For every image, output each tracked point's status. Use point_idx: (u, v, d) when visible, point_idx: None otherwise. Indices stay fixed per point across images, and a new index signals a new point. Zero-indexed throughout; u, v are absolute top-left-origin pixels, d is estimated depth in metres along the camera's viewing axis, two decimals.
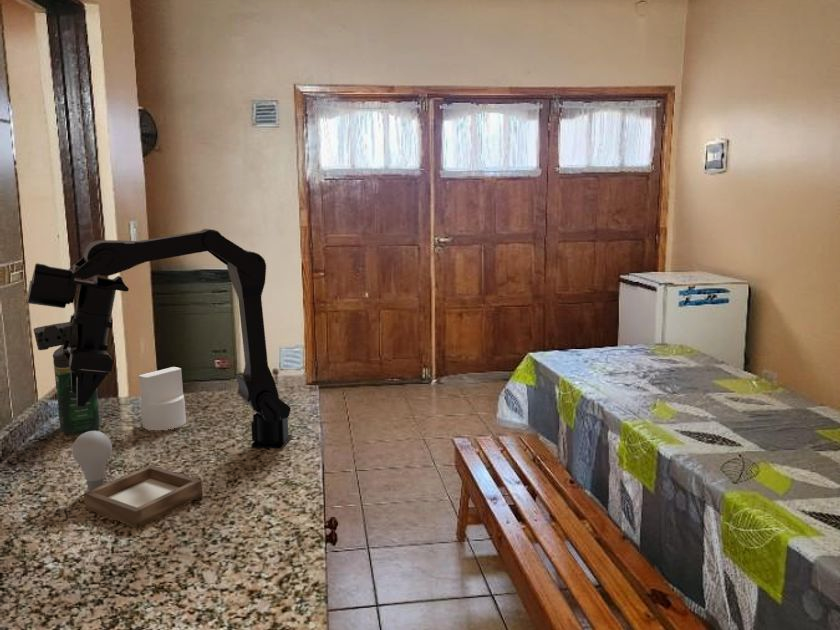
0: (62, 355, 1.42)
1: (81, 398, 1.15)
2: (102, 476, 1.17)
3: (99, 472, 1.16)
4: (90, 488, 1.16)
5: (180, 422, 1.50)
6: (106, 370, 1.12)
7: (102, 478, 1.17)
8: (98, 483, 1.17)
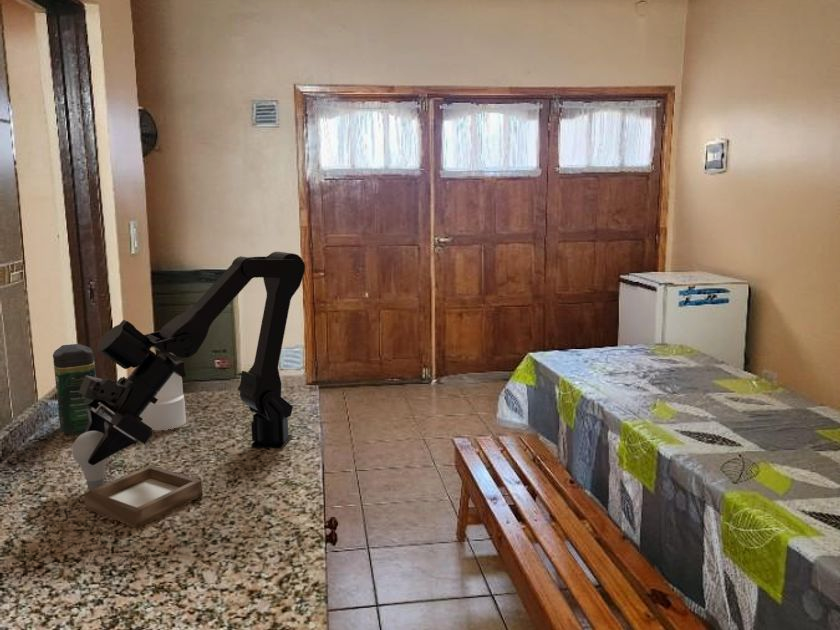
0: (62, 355, 1.42)
1: (96, 456, 1.13)
2: (102, 476, 1.17)
3: (99, 472, 1.16)
4: (90, 488, 1.16)
5: (180, 422, 1.50)
6: (143, 442, 1.13)
7: (101, 478, 1.17)
8: (98, 483, 1.17)
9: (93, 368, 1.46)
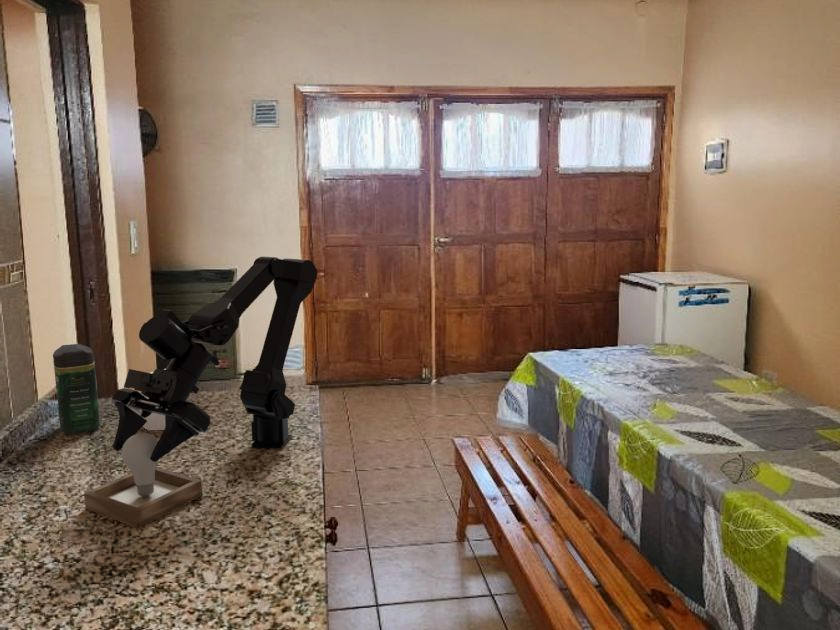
0: (62, 355, 1.42)
1: (159, 452, 1.09)
2: (153, 478, 1.13)
3: (152, 474, 1.12)
4: (142, 493, 1.12)
5: None
6: (204, 430, 1.12)
7: (152, 481, 1.13)
8: (150, 487, 1.13)
9: (93, 368, 1.46)
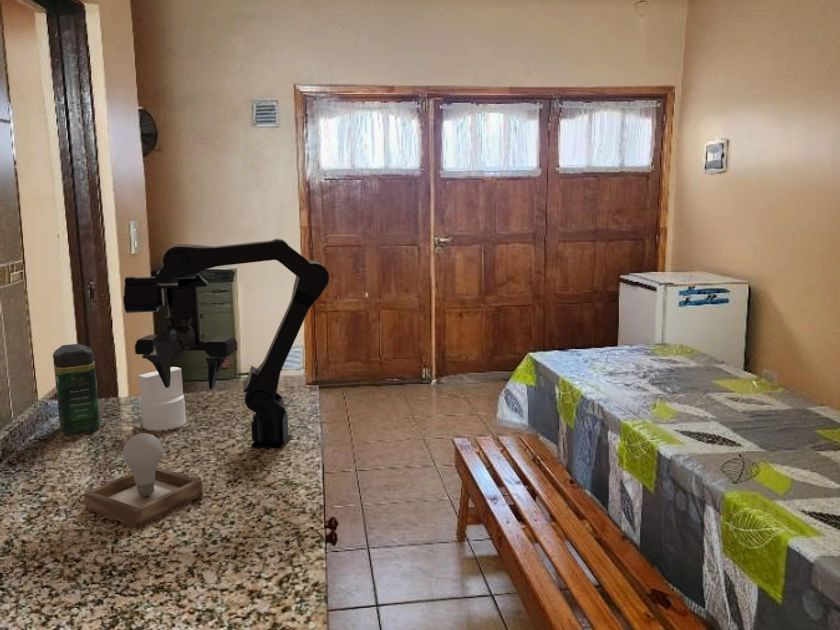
0: (62, 355, 1.42)
1: (213, 382, 1.32)
2: (154, 479, 1.13)
3: (153, 475, 1.12)
4: (142, 493, 1.12)
5: (180, 422, 1.50)
6: (236, 349, 1.33)
7: (153, 481, 1.13)
8: (151, 487, 1.13)
9: (93, 368, 1.46)
